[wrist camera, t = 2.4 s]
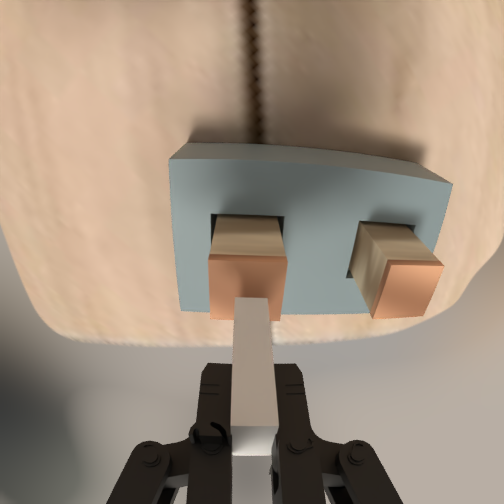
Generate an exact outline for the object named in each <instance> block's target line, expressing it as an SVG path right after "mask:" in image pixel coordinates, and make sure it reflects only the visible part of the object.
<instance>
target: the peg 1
mask: <svg viewBox="0 0 504 504" xmlns="http://www.w3.org/2000/svg"><path fill="white" fill-rule="evenodd" d="M287 266H288V261H287V256H286V254H285V249H284V245H283V241H282V236H281V232H280V227H279V223H278V219H277V216H270V215H244V214H218V215H217V220H216V225H215V230H214V235H213V240H212V245H211V250H210V254H209V257H208V276H209V300H210V319H219V320H234V307H235V297H244V298H267V299H268V309H269V319H270V321H280V316H281V310H282V302H283V295H284V288H285V281H286V273H287Z"/></svg>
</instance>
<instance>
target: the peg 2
mask: <svg viewBox="0 0 504 504" xmlns="http://www.w3.org/2000/svg"><path fill="white" fill-rule="evenodd" d="M348 268H349V270H350V272H351V274H352V276H353V278H354V280H355V282H356V284H357V286H358V288H359V290H360V292H361V294H362V296H363V298H364V301H365V303H366V305H367V307H368V309H369V311H370V314H371V317H372V319H386V318H403V317H417V316H423V315H424V313H425V311H426V309H427V306H428V304H429V302H430V300H431V297H432V295H433V293H434V291H435V288H436V286H437V283H438V281H439V278H440V276H441V273H442V271H443V268H444V265H443V264H442V263H441V262H440V261H439V260H438V259H437V258H436V257H435V255H434V254H433V253H432V252H431V251H430V250H429V249H428V248H427V247H426V246H425V245H424V243H423V242H422V241H421V240H420V239H419V238H418V237H417V236H416V235H415V234H414V233H413V232H412V231H411V230H410V229H409V228H408V227H407V226H406V225H405V224H398V223H386V222H373V221H359V223H358V228H357V233H356V237H355V242H354V246H353V250H352V255H351V259H350V263H349V267H348Z"/></svg>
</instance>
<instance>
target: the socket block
mask: <svg viewBox="0 0 504 504" xmlns="http://www.w3.org/2000/svg"><path fill="white" fill-rule="evenodd" d="M169 180H170V199H171V215H172V229H173V242H174V253H175V264H176V273H177V283H178V292H179V300H180V308H181V311H191V312H210V300H209V276H208V257H209V254H210V250H211V245H212V240H213V235H214V230H215V225H216V220H217V215H218V214H244V215H270V216H277V219H278V223H279V227H280V232H281V236H282V241H283V245H284V249H285V254H286V256H287V261H288V266H287V273H286V281H285V288H284V295H283V302H282V310H281V314H358V313H370V311H369V309H368V307H367V305H366V303H365V301H364V298H363V296H362V294H361V292H360V290H359V288H358V286H357V284H356V282H355V280H354V278H353V276H352V274H351V272H350V270H349V268H348V267H349V263H350V259H351V255H352V250H353V246H354V242H355V237H356V233H357V228H358V223H359V221H373V222H386V223H398V224H405V225H406V226H407V227H408V228H409V229H410V230H411V231H412V232H413V233H414V234H415V235H416V236H417V237H418V238H419V239H420V240H421V241H422V242H423V243H424V245H425V246H426V247H427V248H428V249H429V250H430V251H431V252H432V253H433V251H434V248H435V245H436V242H437V239H438V236H439V233H440V230H441V226H442V223H443V220H444V216H445V213H446V209H447V205H448V202H449V198H450V194H451V190H452V186H453V184H452V183H450V182H448V181H447V180H445V179H444V178H442V177H440V176H438V175H437V174H435V173H433V172H432V171H430V170H428V169H426V168H424V167H423V166H421V165H419V164H417V163H414V162H409V161H404V160H398V159H392V158H386V157H380V156H373V155H367V154H360V153H352V152H344V151H336V150H327V149H318V148H307V147H295V146H282V145H266V144H244V143H186V144H185V145H184V146H182V147H181V148H180V149H179V150H178V151H177V152H176V153H175V154H174V155H173V156H172V157H171V158H170V159H169Z"/></svg>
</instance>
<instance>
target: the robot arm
mask: <svg viewBox="0 0 504 504" xmlns="http://www.w3.org/2000/svg"><path fill="white" fill-rule="evenodd" d="M271 453H272V465H271V468H270V472H269V474H271V481H272V500H273V504H326V500H325V493H324V490H325V492H326V494H327V496H328V499H329V501H330V503H331V504H403V502H402V500H401V499H400V497H399V495H398V493H397V491H396V489H395V488H394V486H393V484H392V482H391V480H390V479H389V477H388V475H387V473H386V471H385V469H384V467H383V466H382V464H381V462H380V460H379V458H378V457H377V455H376V453H375V451H374V449H373V448H372V447H371V446H370V444H368V443H366V442H365V441H361V440H353V441H349V442H348V443H346V444H339V443H333V442H328V441H325V440H322V439H321V438H319V437H318V436H316V435H315V433H314V432H313V430H312V428H311V425H310V419H309V412H308V406H307V400H306V395H305V388H304V381H303V375H302V372H301V371H300V369H299V368H298V366H297V365H296V364H274V363H273V352H272V341H271V330H270V319H269V309H268V299H267V298H244V297H235V307H234V332H233V362H232V364H220V363H208V364H207V365H206V367H205V368H204V370H203V371H202V374H201V383H200V392H199V400H198V409H197V419H196V423H195V424H194V425H193V426H192V427H191V428H190V431H189V437H188V438H187V439H185V440H183V441H181V442H177V443H171V444H166V445H162V444H160V443H158V442H154V441H146V442H142V443H140V444H138V445H137V446H136V447H135V448H134V450H133V451H132V453H131V455H130V457H129V459H128V461H127V463H126V465H125V467H124V469H123V471H122V473H121V475H120V477H119V479H118V481H117V483H116V485H115V487H114V489H113V491H112V493H111V495H110V497H109V499H108V501H107V503H106V504H173V503H174V500H175V498H176V495H177V493H178V490H179V488H180V487H184V486H188V488H187V503H186V504H232V455H242V456H245V455H246V456H249V455H250V456H252V455H255V456H257V455H258V456H260V455H271Z"/></svg>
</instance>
